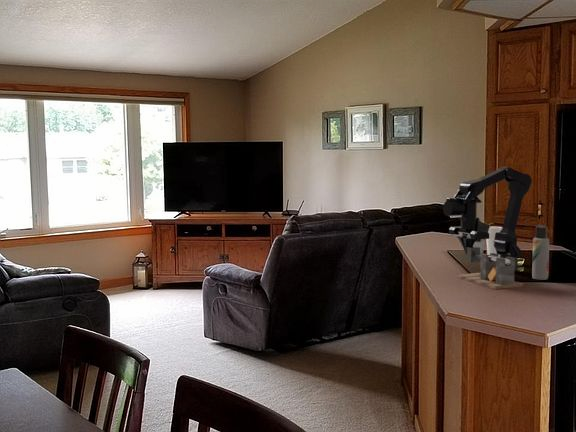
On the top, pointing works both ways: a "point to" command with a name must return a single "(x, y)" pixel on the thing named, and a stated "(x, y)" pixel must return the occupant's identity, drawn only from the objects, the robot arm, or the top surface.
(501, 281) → the shaft stand
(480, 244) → the house plant
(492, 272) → the spacer
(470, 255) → the shaft
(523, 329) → the top surface
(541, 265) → the lotion bottle
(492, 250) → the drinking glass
